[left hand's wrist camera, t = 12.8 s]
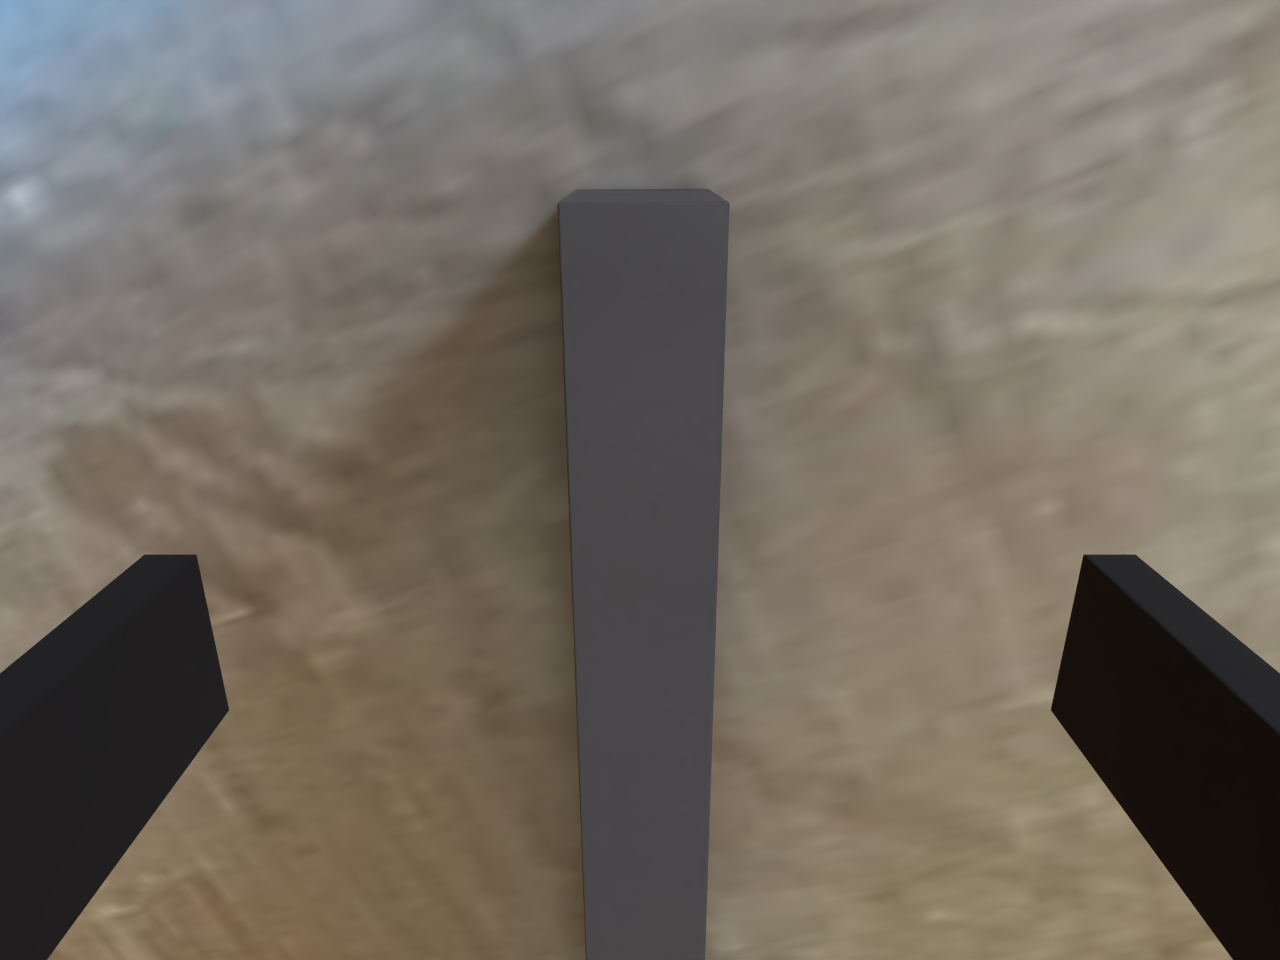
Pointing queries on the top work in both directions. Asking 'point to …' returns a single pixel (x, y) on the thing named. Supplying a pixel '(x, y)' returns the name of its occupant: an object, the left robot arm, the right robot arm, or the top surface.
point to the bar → (644, 551)
